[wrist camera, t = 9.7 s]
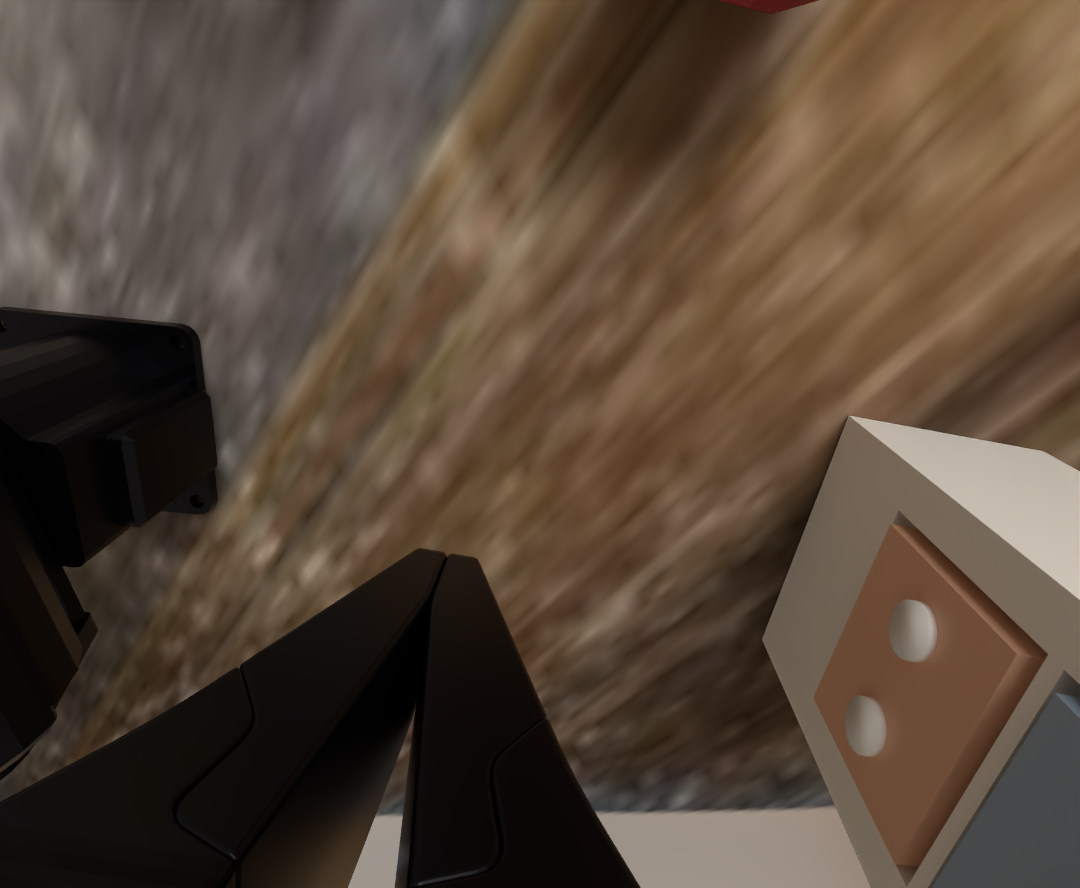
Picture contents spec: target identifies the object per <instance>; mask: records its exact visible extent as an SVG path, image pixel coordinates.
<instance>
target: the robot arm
mask: <svg viewBox="0 0 1080 888" xmlns="http://www.w3.org/2000/svg"><path fill="white" fill-rule="evenodd" d="M1 319H2V320H3V321H4V322H5V324H6V326H7V329H5V328H4V327H3V326H2V324H1V322H0V780H2V779H3V778H4V777H5V776H6V775H8V774H9V773H10V772H11V771H12V770H13V769H14V768H15V767H16V766H17V765H18V764H19V763H20V762H21V761H22V760H23V759H24V758H25V757H26V756H27V754H28V753H29V752H30V751H31V749H32V748H33V746H34V745H35V744H36V743H37V742H38V741H39V740H40V739H41V738H42V737H43V736H44V735H45V734H46V733H47V732H48V731H49V729H50V728H51V726H52V725H53V723H54V722H55V720H56V718H57V713H56V711H55V709H56V707H57V705H58V703H59V701H60V699H61V698H62V696H63V694H64V692H65V690H66V688H67V687H68V685H69V683H70V681H71V679H72V678H73V676H74V675H75V674H76V672H77V671H78V668H79V665H80V663H81V661H82V659H83V657H84V655H85V654H86V652H87V650H88V648H89V646H90V644H91V643H92V641H93V639H94V637H95V635H96V634H97V632H98V628H97V626H96V624H95V622H94V620H93V618H92V616H91V614H90V613H89V612H84V610H83V608H82V606H81V604H80V602H79V600H78V598H77V596H76V594H75V592H74V590H73V588H72V585H71V583H70V581H69V579H68V577H67V575H66V573H65V571H64V569H63V567H62V566H67V567H81V566H82V565H83V564H85V563H86V562H87V561H88V560H90V559H91V558H92V557H93V556H95V555H96V554H97V553H99V552H100V551H101V550H102V549H104V548H105V547H106V546H108V545H109V544H110V543H111V542H113V541H114V540H115V539H116V538H118V537H119V536H120V535H122V534H123V533H124V532H125V531H127V530H128V529H129V528H130V527H141V526H143V525H145V524H146V523H147V522H148V521H150V520H151V519H152V518H153V517H155V516H156V515H157V514H158V513H160V512H161V511H168V512H178V513H189V514H205V513H207V512H208V511H210V510H211V509H212V508H213V507H214V506H215V504H216V503H217V489H216V481H215V472H214V468H215V467H216V466H217V454H216V445H215V436H214V427H213V418H212V409H211V400H210V397H209V395H208V394H207V393H206V391H205V384H204V375H203V366H202V358H201V349H200V341H199V338H198V335H197V334H196V332H195V331H194V330H193V329H192V328H191V327H189V326H187V325H184V324H177V323H167V322H156V321H146V320H136V319H126V318H115V317H105V316H95V315H85V314H74V313H64V312H54V311H43V310H33V309H23V308H13V307H0V321H1ZM176 335H179V336H180V337H181V338H183V340H184V342H185V346H184V348H183V347H181V346H180V345H178V344H177V342H176ZM196 495H198V496H201V497H202V498H203V500H204V503H203V502H200V501H199V500H198V499H197V498H196ZM415 708H416V710H415ZM414 711H415V717H414V724H413V732H412V740H411V749H410V758H409V766H408V775H407V784H406V793H405V802H404V811H403V819H402V828H401V837H400V846H399V855H398V865H397V872H396V881H395V888H640V886H639V884H638V883H637V881H636V879H635V878H634V876H633V874H632V873H631V871H630V870H629V868H628V866H627V865H626V863H625V861H624V860H623V858H622V857H621V855H620V853H619V851H618V850H617V848H616V847H615V845H614V843H613V841H612V840H611V838H610V837H609V835H608V834H607V832H606V830H605V828H604V827H603V825H602V823H601V822H600V820H599V818H598V817H597V815H596V813H595V811H594V810H593V808H592V806H591V804H590V803H589V801H588V799H587V797H586V796H585V794H584V792H583V790H582V789H581V787H580V785H579V783H578V782H577V780H576V778H575V776H574V774H573V772H572V769H571V767H570V765H569V763H568V761H567V759H566V757H565V755H564V753H563V751H562V749H561V747H560V745H559V742H558V740H557V738H556V736H555V733H554V731H553V729H552V726H551V724H550V722H549V720H548V719H546V713H545V711H544V709H543V706H542V704H541V702H540V700H539V697H538V695H537V693H536V691H535V688H534V686H533V684H532V681H531V679H530V677H529V675H528V672H527V670H526V668H525V665H524V663H523V661H522V659H521V656H520V654H519V652H518V650H517V647H516V645H515V643H514V640H513V638H512V636H511V634H510V631H509V629H508V627H507V624H506V622H505V620H504V618H503V615H502V613H501V611H500V608H499V606H498V604H497V602H496V599H495V597H494V595H493V593H492V590H491V588H490V586H489V583H488V581H487V579H486V577H485V574H484V572H483V570H482V567H481V565H480V563H479V561H478V559H476V558H474V557H469V556H463V555H457V554H450V555H449V556H448V557H447V556H446V554H445V553H444V552H440V551H434V550H429V549H423V548H418V549H416V550H414V551H413V552H411V553H410V554H408V555H407V556H405V557H404V558H402V559H401V560H399V561H398V562H396V563H394V564H393V565H391V566H390V567H388V568H387V569H385V570H384V571H382V572H381V573H379V574H378V575H376V576H375V577H373V578H372V579H370V580H369V581H367V582H366V583H364V584H362V585H361V586H359V587H358V588H356V589H355V590H353V591H352V592H350V593H349V594H347V595H346V596H344V597H343V598H341V599H340V600H338V601H337V602H335V603H334V604H332V605H330V606H329V607H327V608H326V609H324V610H323V611H321V612H320V613H318V614H317V615H315V616H314V617H312V618H311V619H309V620H308V621H306V622H305V623H303V624H302V625H300V626H298V627H297V628H295V629H294V630H292V631H291V632H289V633H288V634H286V635H285V636H283V637H282V638H280V639H279V640H277V641H276V642H274V643H273V644H271V645H270V646H268V647H266V648H265V649H263V650H262V651H260V652H259V653H257V654H256V655H254V656H253V657H251V658H250V659H248V660H247V661H245V662H244V663H242V664H241V666H240V668H234V669H232V670H231V671H229V672H228V673H226V674H225V675H223V676H222V677H220V678H219V679H217V680H216V681H214V682H213V683H211V684H210V685H208V686H206V687H205V688H203V689H202V690H200V691H198V692H197V693H195V694H194V695H192V696H190V697H189V698H187V699H185V700H184V701H182V702H181V703H179V704H177V705H176V706H174V707H173V708H171V709H169V710H168V711H166V712H164V713H163V714H161V715H159V716H157V717H155V718H154V719H152V720H150V721H148V722H147V723H145V724H143V725H141V726H139V727H138V728H136V729H134V730H132V731H131V732H129V733H127V734H125V735H123V736H122V737H120V738H118V739H116V740H115V741H113V742H111V743H109V744H107V745H105V746H104V747H102V748H100V749H98V750H96V751H94V752H92V753H91V754H89V755H87V756H85V757H83V758H81V759H79V760H77V761H76V762H74V763H72V764H70V765H68V766H66V767H64V768H63V769H61V770H59V771H57V772H55V773H53V774H51V775H50V776H48V777H46V778H44V779H42V780H40V781H38V782H37V783H35V784H33V785H31V786H29V787H27V788H25V789H24V790H22V791H20V792H18V793H16V794H14V795H12V796H10V797H9V798H7V799H5V800H3V801H1V802H0V888H348V886H349V883H350V880H351V878H352V875H353V873H354V870H355V867H356V865H357V862H358V859H359V857H360V854H361V852H362V849H363V846H364V844H365V841H366V839H367V836H368V833H369V831H370V828H371V826H372V823H373V820H374V818H375V815H376V813H377V810H378V807H379V805H380V802H381V800H382V797H383V794H384V792H385V789H386V787H387V784H388V781H389V779H390V776H391V774H392V771H393V768H394V766H395V763H396V761H397V758H398V755H399V753H400V750H401V748H402V745H403V742H404V740H405V737H406V735H407V732H408V729H409V726H410V723H411V720H412V718H413V715H414Z"/></svg>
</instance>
